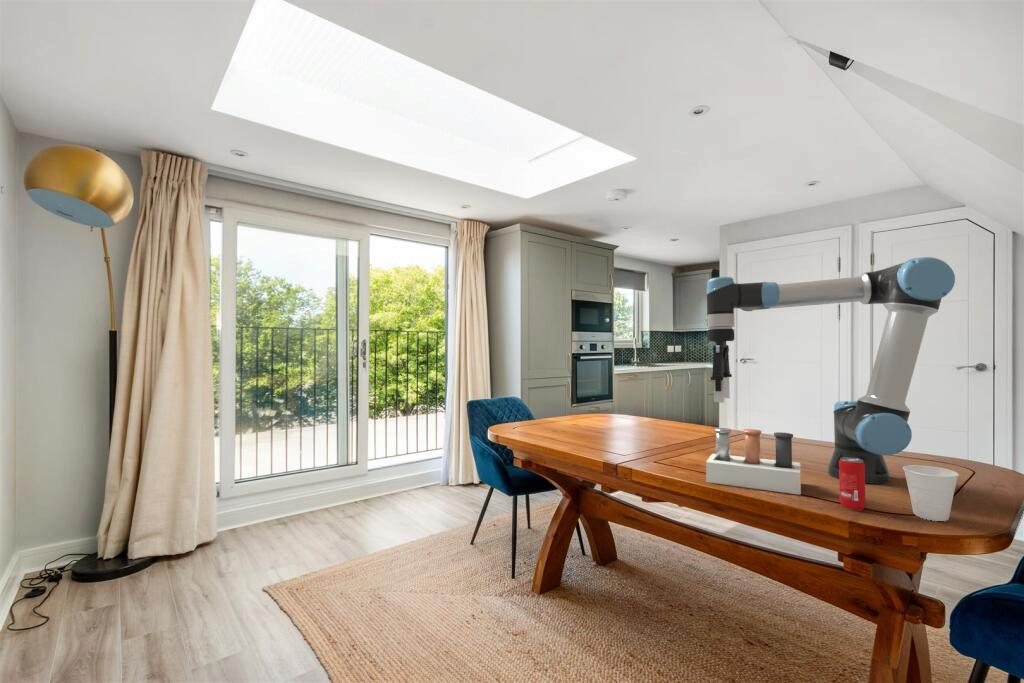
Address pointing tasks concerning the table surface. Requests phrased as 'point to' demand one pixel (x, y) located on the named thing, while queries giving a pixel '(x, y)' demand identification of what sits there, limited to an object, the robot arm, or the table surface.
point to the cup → (931, 491)
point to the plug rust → (752, 446)
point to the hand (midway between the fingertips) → (721, 400)
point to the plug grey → (723, 444)
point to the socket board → (754, 474)
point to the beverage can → (852, 483)
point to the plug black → (783, 450)
